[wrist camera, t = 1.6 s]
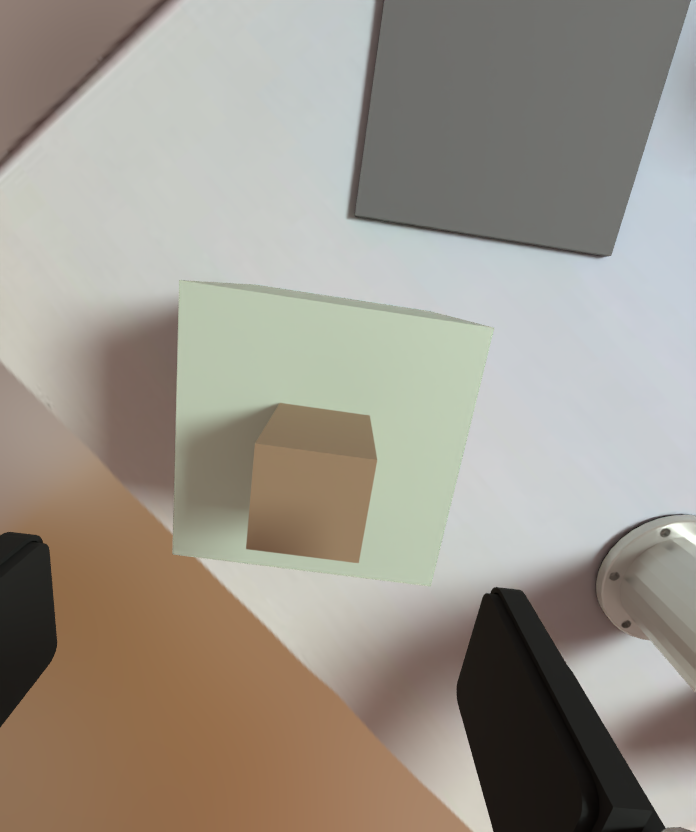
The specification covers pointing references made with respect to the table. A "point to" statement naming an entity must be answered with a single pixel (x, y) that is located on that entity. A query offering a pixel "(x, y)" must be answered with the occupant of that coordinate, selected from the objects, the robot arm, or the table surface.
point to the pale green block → (319, 429)
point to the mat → (515, 115)
